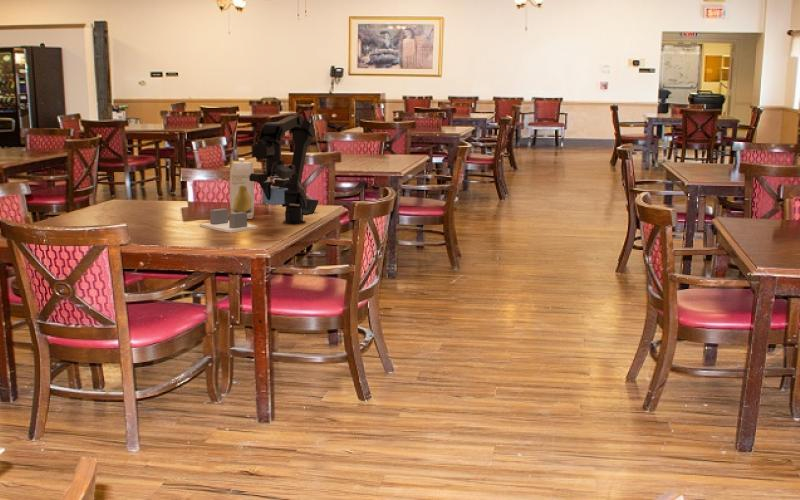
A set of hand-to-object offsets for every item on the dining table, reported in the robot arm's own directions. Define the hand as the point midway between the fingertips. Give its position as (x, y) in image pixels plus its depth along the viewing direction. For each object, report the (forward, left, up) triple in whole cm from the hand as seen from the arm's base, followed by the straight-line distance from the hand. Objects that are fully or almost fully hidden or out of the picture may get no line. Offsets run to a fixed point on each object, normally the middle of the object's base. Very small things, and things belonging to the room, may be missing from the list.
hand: (273, 199), depth 327 cm
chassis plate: (+10, -14, -11) cm, 21 cm away
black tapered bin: (-35, -22, -12) cm, 43 cm away
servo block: (0, 0, -2) cm, 2 cm away
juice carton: (-8, -28, -12) cm, 31 cm away
